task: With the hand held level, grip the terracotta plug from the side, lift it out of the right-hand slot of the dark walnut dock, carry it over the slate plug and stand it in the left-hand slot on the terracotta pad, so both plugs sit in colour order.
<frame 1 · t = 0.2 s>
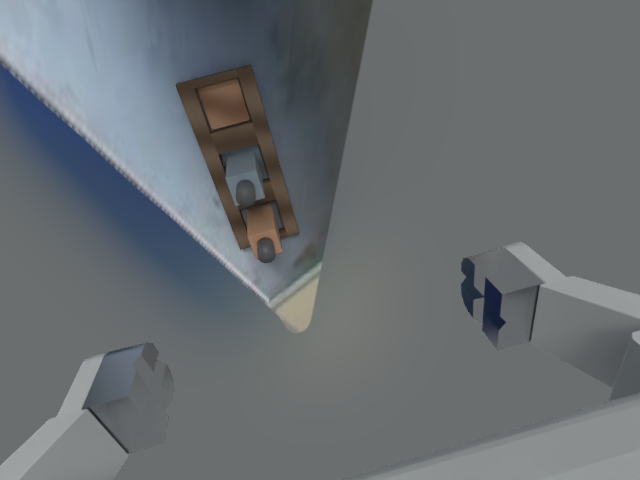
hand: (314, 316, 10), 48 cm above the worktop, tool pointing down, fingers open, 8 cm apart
slate plug: (245, 180, 51), in the plug dock
terracotta plug: (262, 216, 61), resting in plug dock
plug dock: (245, 165, 56), on the worktop
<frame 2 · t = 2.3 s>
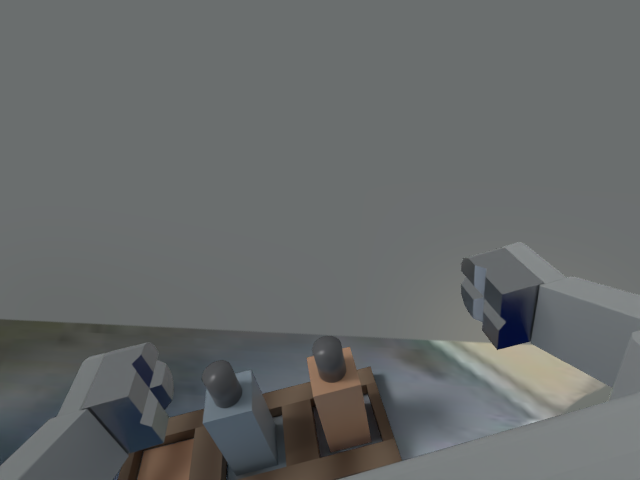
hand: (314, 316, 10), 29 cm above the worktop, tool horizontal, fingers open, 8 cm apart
slate plug: (238, 414, 33), in the plug dock
terracotta plug: (346, 427, 37), resting in plug dock
plug dock: (257, 450, 36), on the worktop
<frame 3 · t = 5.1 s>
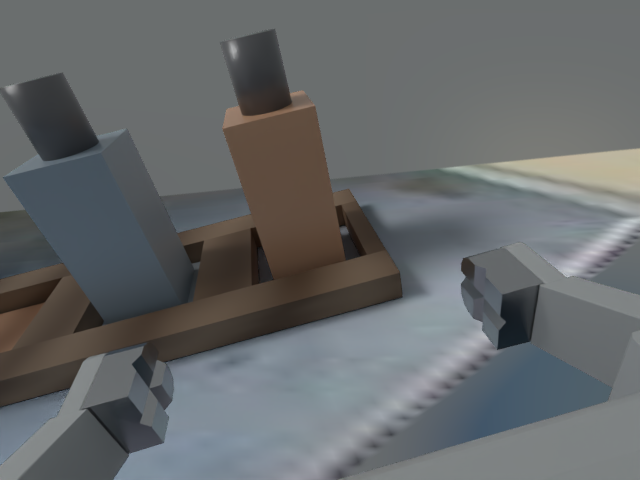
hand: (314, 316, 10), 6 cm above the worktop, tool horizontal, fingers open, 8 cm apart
slate plug: (104, 208, 18), in the plug dock
terracotta plug: (307, 261, 22), resting in plug dock
plug dock: (158, 300, 22), on the worktop
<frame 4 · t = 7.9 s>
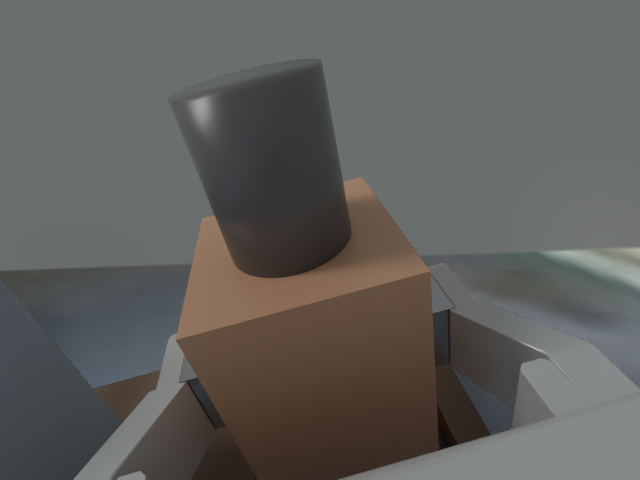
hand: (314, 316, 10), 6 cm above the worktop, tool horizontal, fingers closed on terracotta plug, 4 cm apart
terracotta plug: (356, 467, 12), resting in plug dock, touching gripper
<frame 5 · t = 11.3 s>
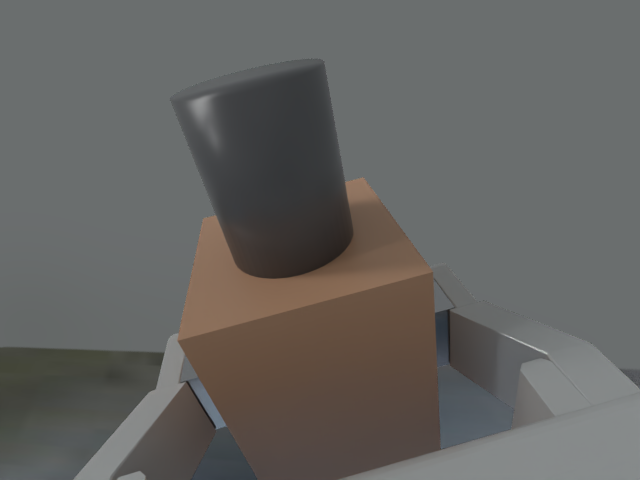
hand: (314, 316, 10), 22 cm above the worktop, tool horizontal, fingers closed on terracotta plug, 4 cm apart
terracotta plug: (357, 468, 12), point 16 cm above the worktop, touching gripper
when the fingers open (7 cm above the worktop, at t = 14.9 s): terracotta plug stays where it is, resting on plug dock.
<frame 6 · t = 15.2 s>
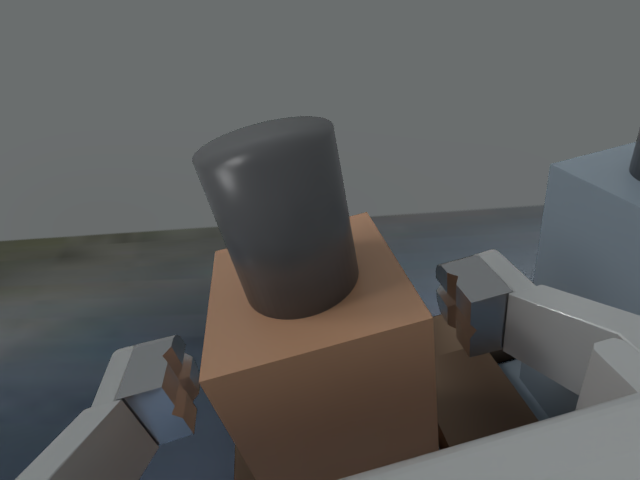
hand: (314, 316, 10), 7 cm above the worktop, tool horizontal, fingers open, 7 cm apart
plug dock: (607, 412, 13), on the worktop
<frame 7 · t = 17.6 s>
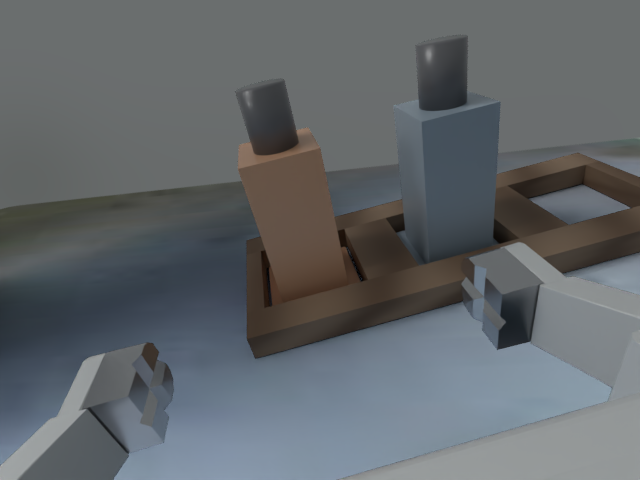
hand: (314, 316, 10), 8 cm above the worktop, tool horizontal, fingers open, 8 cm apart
slate plug: (443, 157, 21), in the plug dock
terracotta plug: (312, 280, 24), resting on plug dock
plug dock: (446, 246, 24), on the worktop
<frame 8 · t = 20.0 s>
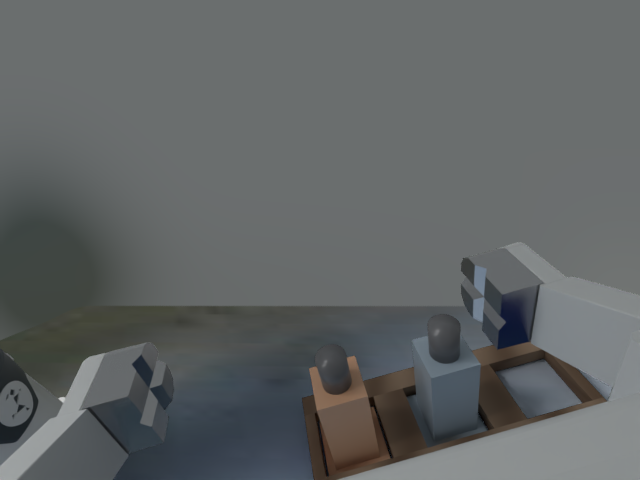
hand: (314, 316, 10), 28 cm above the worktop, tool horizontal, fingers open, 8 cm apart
slate plug: (444, 374, 32), in the plug dock
terracotta plug: (353, 441, 35), resting on plug dock
plug dock: (445, 416, 35), on the worktop
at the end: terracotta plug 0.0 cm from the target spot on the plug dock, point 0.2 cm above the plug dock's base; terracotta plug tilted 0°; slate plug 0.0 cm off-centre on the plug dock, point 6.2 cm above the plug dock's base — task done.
